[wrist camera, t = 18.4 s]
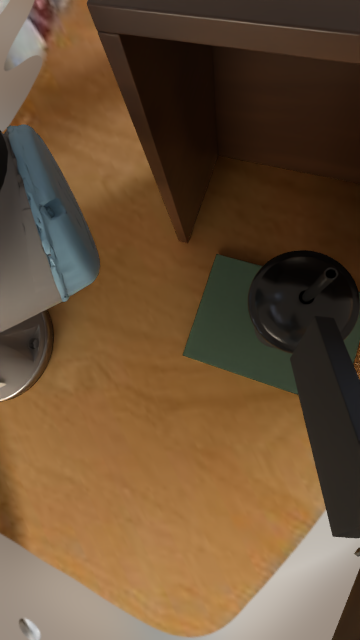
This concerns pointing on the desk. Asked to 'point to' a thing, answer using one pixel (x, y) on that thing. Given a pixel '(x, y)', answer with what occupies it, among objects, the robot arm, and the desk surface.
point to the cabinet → (236, 87)
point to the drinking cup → (300, 297)
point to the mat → (241, 329)
